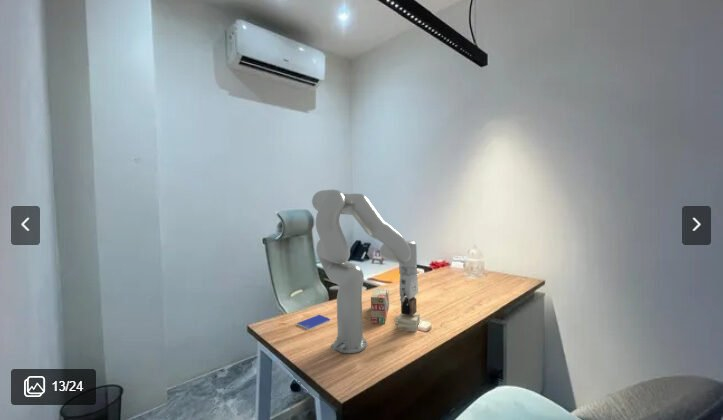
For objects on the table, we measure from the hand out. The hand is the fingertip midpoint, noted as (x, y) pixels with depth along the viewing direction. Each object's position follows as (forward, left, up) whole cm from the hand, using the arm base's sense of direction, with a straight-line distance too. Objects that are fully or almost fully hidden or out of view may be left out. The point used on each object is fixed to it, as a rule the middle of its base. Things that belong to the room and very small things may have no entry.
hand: (408, 311), depth 129 cm
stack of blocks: (+6, +17, -7) cm, 20 cm away
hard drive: (-17, +39, -8) cm, 43 cm away
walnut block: (0, 0, -1) cm, 1 cm away
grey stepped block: (0, 0, -7) cm, 7 cm away
